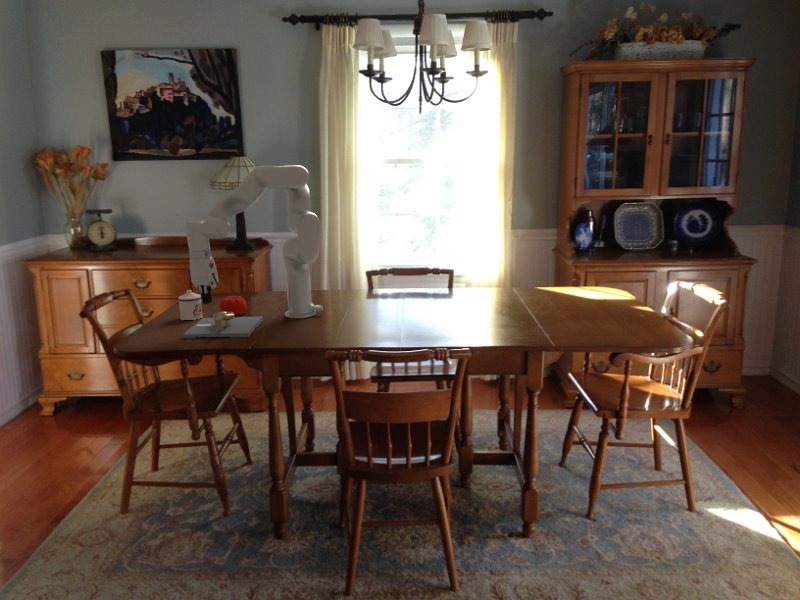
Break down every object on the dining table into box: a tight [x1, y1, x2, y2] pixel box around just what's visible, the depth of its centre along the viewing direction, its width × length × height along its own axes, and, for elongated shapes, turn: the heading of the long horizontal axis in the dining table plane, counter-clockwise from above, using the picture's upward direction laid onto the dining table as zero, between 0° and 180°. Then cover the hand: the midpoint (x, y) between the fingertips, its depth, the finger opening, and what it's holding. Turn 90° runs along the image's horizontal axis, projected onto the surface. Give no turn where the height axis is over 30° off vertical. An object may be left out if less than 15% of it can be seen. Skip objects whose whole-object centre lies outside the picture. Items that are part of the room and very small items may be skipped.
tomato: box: [219, 295, 248, 317], centre depth 278 cm, size 11×11×8 cm
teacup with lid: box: [177, 289, 204, 321], centre depth 275 cm, size 12×9×12 cm
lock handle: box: [212, 311, 235, 330], centre depth 253 cm, size 14×8×4 cm, turn 4°
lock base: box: [182, 316, 264, 339], centre depth 257 cm, size 24×24×4 cm
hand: (207, 302), depth 252 cm, fingers closed
